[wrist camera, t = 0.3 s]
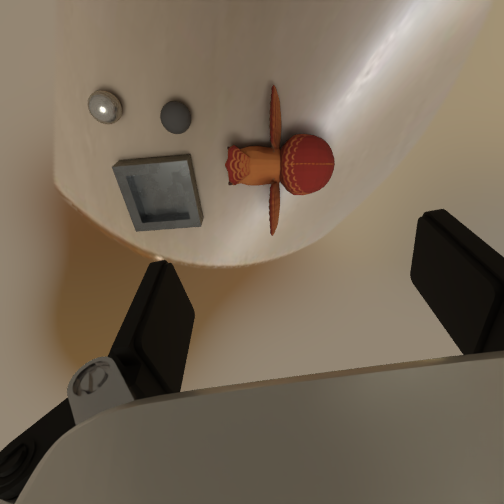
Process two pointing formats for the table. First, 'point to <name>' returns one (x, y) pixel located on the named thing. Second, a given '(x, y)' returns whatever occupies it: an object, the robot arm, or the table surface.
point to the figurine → (282, 163)
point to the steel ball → (104, 107)
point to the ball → (175, 117)
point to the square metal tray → (160, 192)
